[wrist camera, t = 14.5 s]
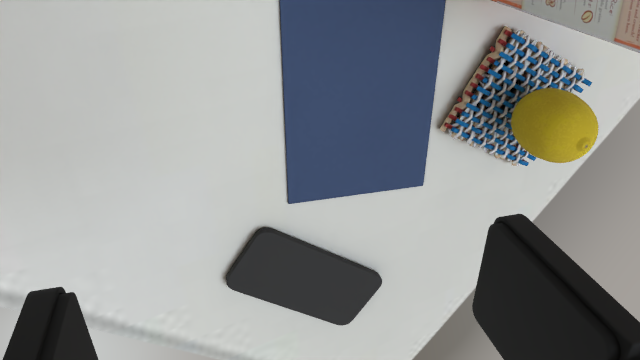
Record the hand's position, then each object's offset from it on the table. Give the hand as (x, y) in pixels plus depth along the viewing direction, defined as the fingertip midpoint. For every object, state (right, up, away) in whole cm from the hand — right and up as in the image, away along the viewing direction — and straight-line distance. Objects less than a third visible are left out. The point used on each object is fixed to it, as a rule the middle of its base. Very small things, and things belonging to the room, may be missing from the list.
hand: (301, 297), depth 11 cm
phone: (-1, -7, +38) cm, 38 cm away
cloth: (+4, +9, +29) cm, 31 cm away
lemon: (+18, +9, +31) cm, 37 cm away
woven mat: (+17, +10, +33) cm, 39 cm away
